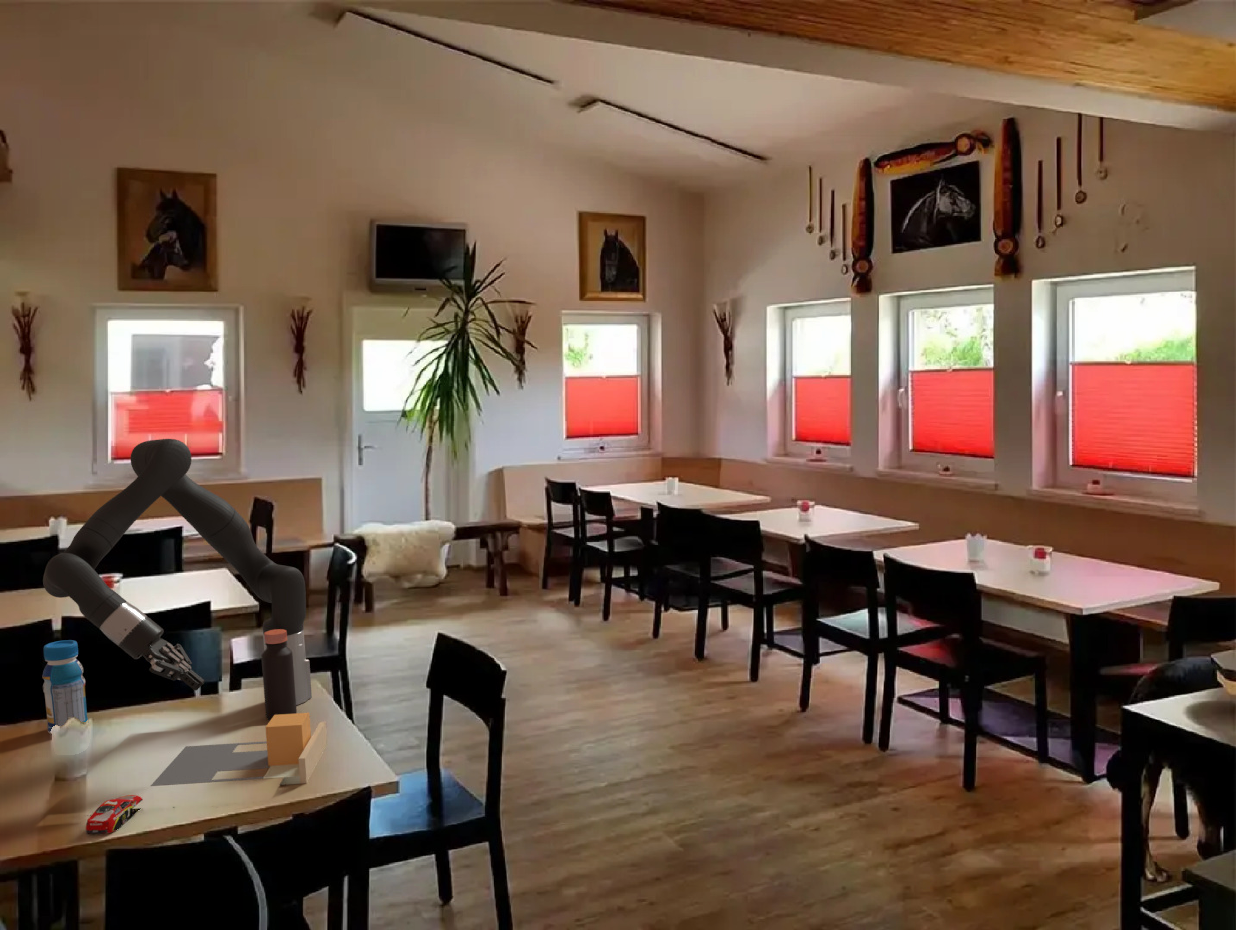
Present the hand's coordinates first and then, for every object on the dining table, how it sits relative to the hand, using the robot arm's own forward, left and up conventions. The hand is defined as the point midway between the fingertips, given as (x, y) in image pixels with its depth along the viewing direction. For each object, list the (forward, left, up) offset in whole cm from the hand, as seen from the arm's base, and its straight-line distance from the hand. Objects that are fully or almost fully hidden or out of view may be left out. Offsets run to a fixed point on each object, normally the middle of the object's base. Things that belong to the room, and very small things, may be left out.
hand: (200, 686), depth 204 cm
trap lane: (-5, +4, -17) cm, 19 cm away
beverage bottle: (+6, -50, -18) cm, 53 cm away
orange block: (-11, +12, -16) cm, 23 cm away
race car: (+22, +7, -18) cm, 29 cm away
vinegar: (-27, -16, -18) cm, 36 cm away
